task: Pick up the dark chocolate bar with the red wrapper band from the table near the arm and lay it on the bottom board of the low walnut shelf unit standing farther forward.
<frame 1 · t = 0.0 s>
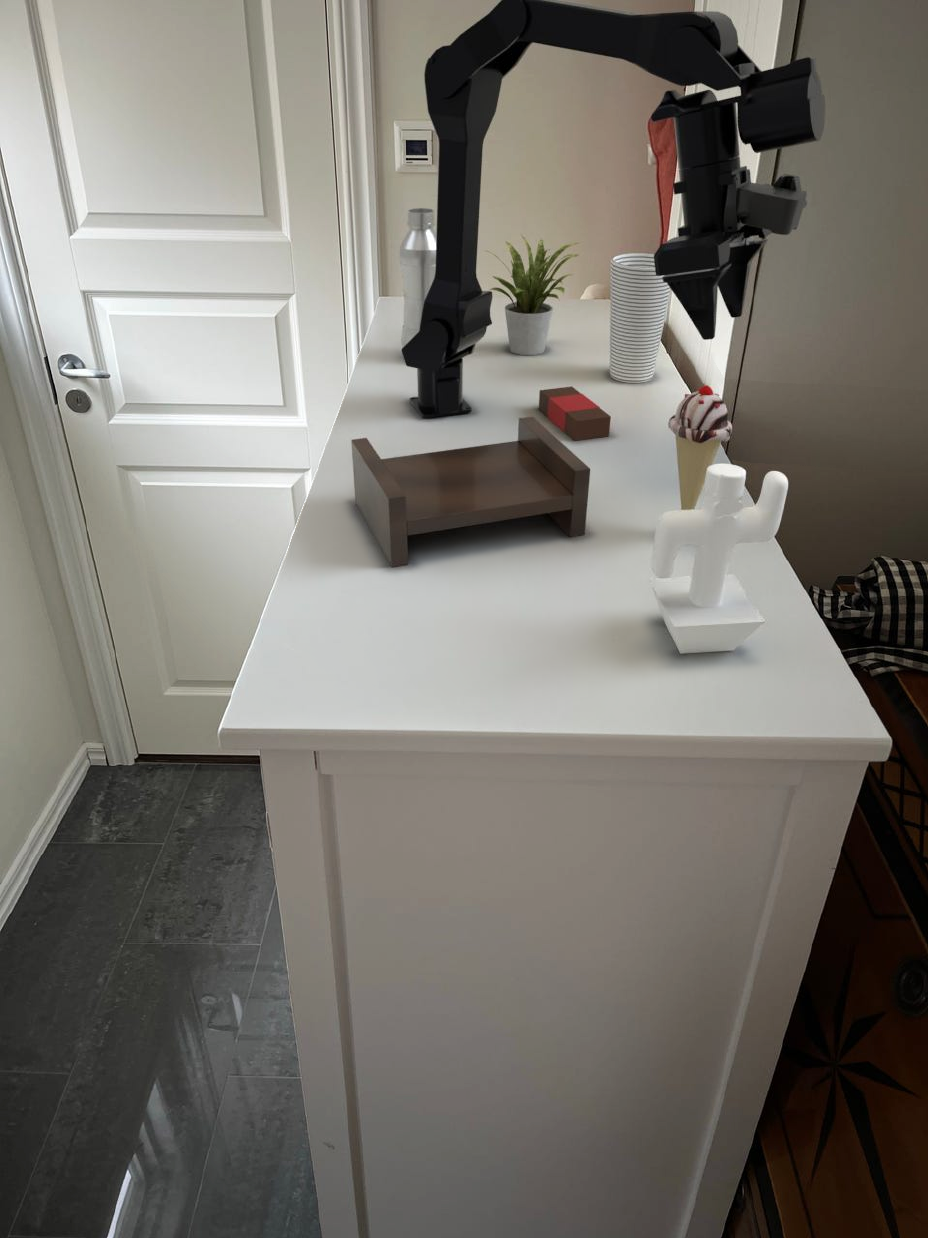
hand: (723, 327, 96), 15 cm above the table, tool pointing down, fingers open, 9 cm apart
shelf: (466, 518, 94), on the table
chocolate bar: (572, 422, 115), on the table
cup: (631, 377, 130), on the table
house plant: (536, 351, 139), on the table
figurine: (697, 638, 76), on the table
plastic bottle: (423, 358, 136), on the table
ice cream cone: (683, 535, 91), on the table
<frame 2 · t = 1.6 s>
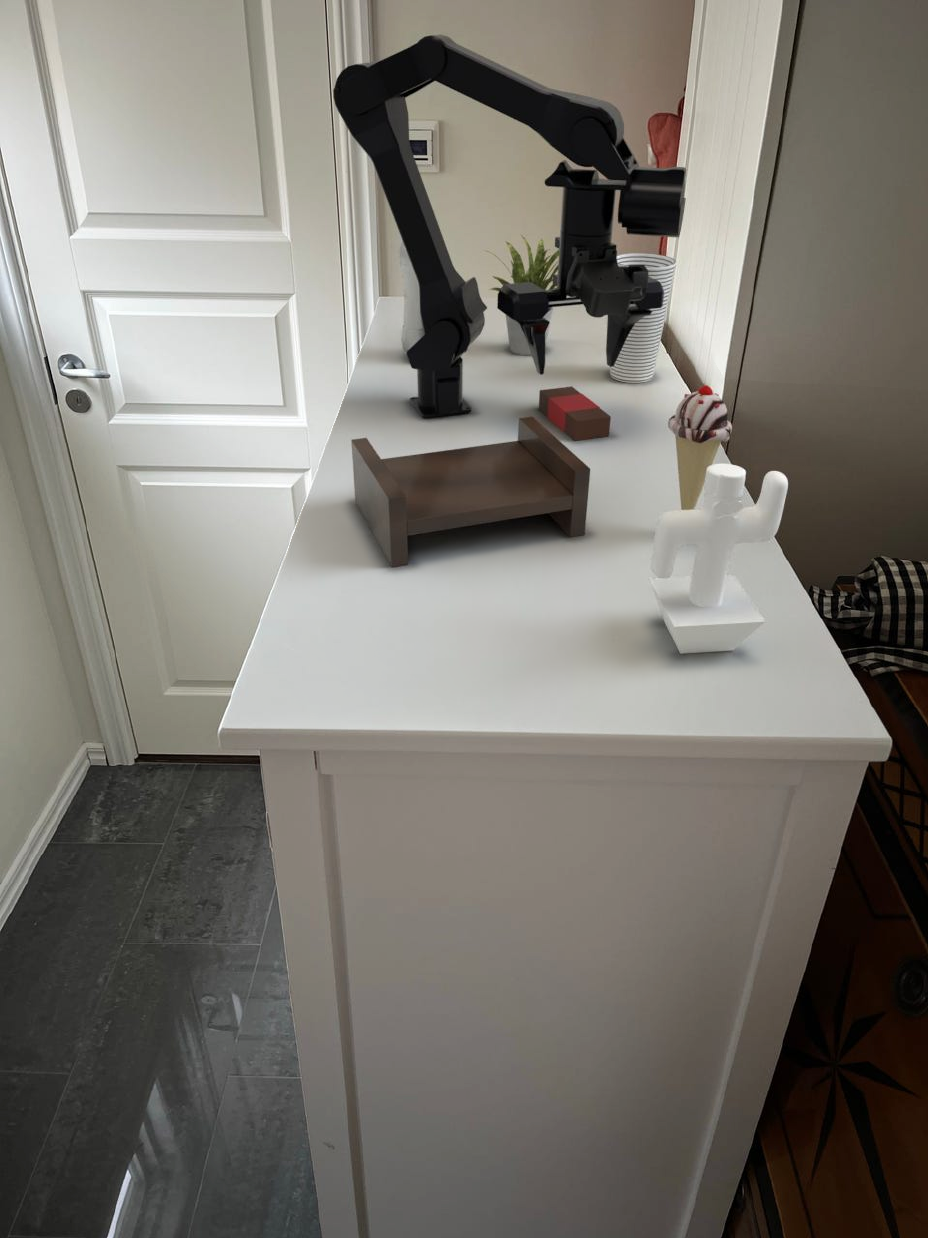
hand: (575, 369, 112), 7 cm above the table, tool pointing down, fingers open, 9 cm apart
nothing on the table moved.
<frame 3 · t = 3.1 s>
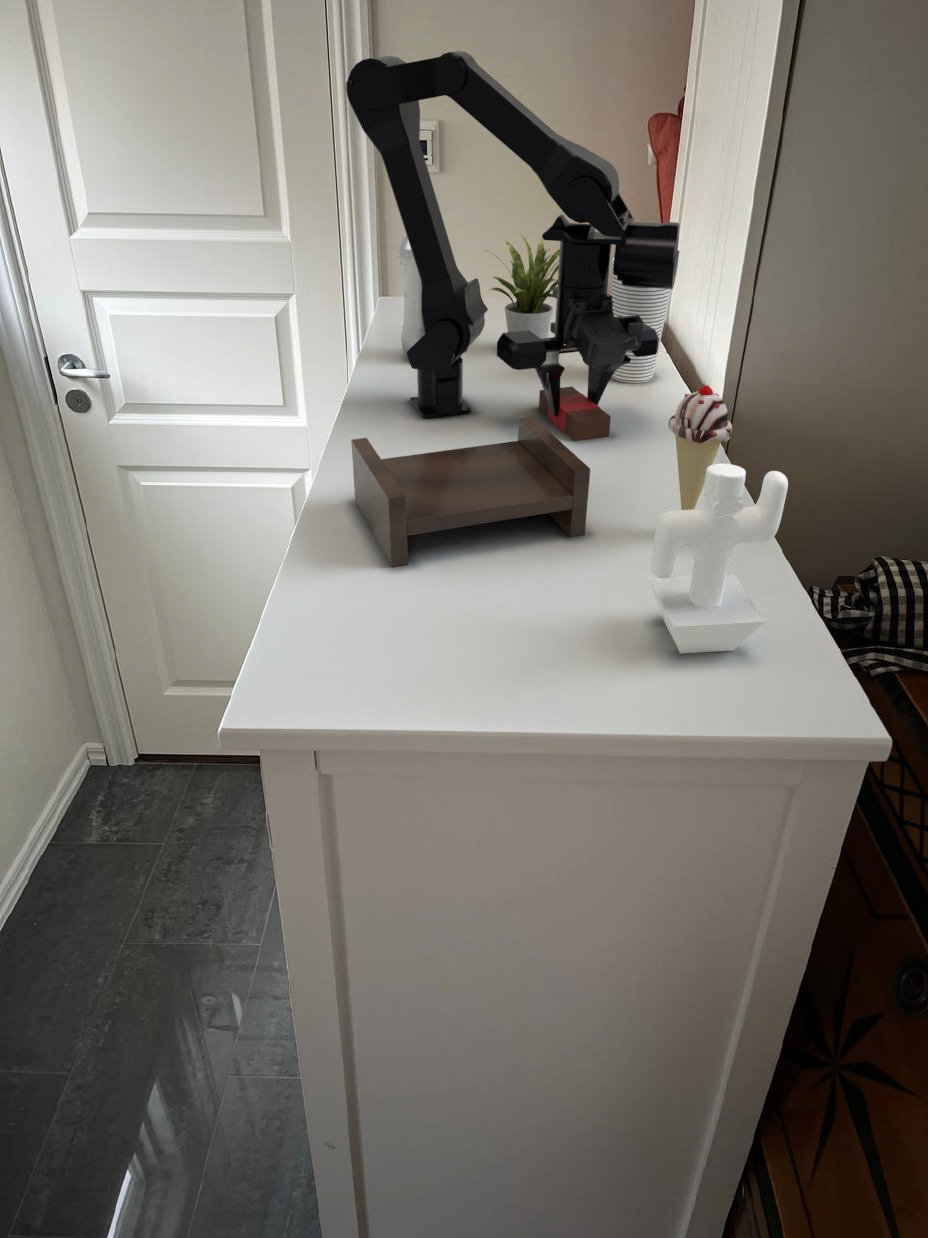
hand: (573, 413, 115), 1 cm above the table, tool pointing down, fingers closed on chocolate bar, 4 cm apart
chocolate bar: (572, 422, 115), on the table, touching gripper
everything else where it was.
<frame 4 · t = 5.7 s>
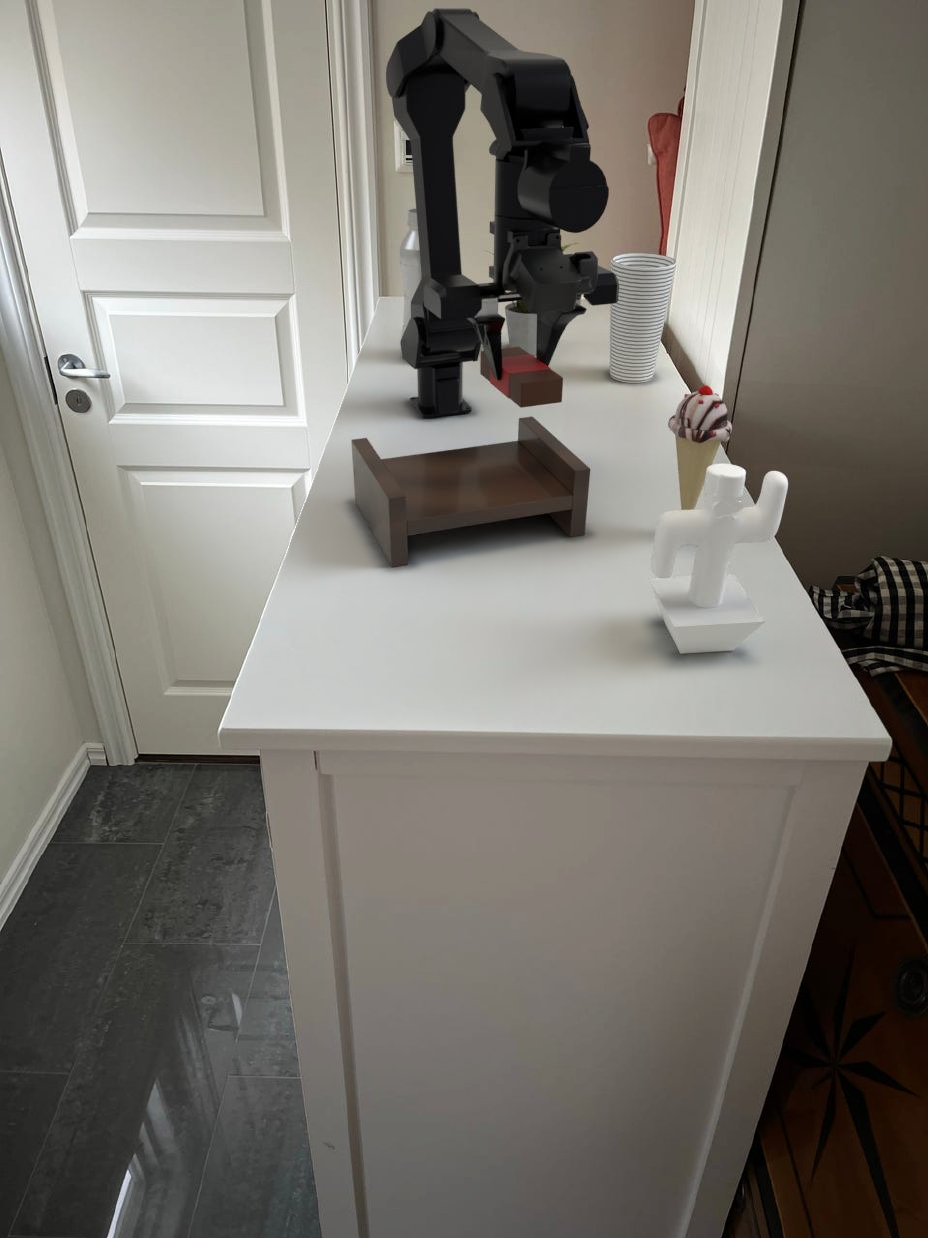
hand: (519, 376, 96), 11 cm above the table, tool pointing down, fingers closed on chocolate bar, 4 cm apart
chocolate bar: (519, 387, 96), point 10 cm above the table, touching gripper
everything else where it was.
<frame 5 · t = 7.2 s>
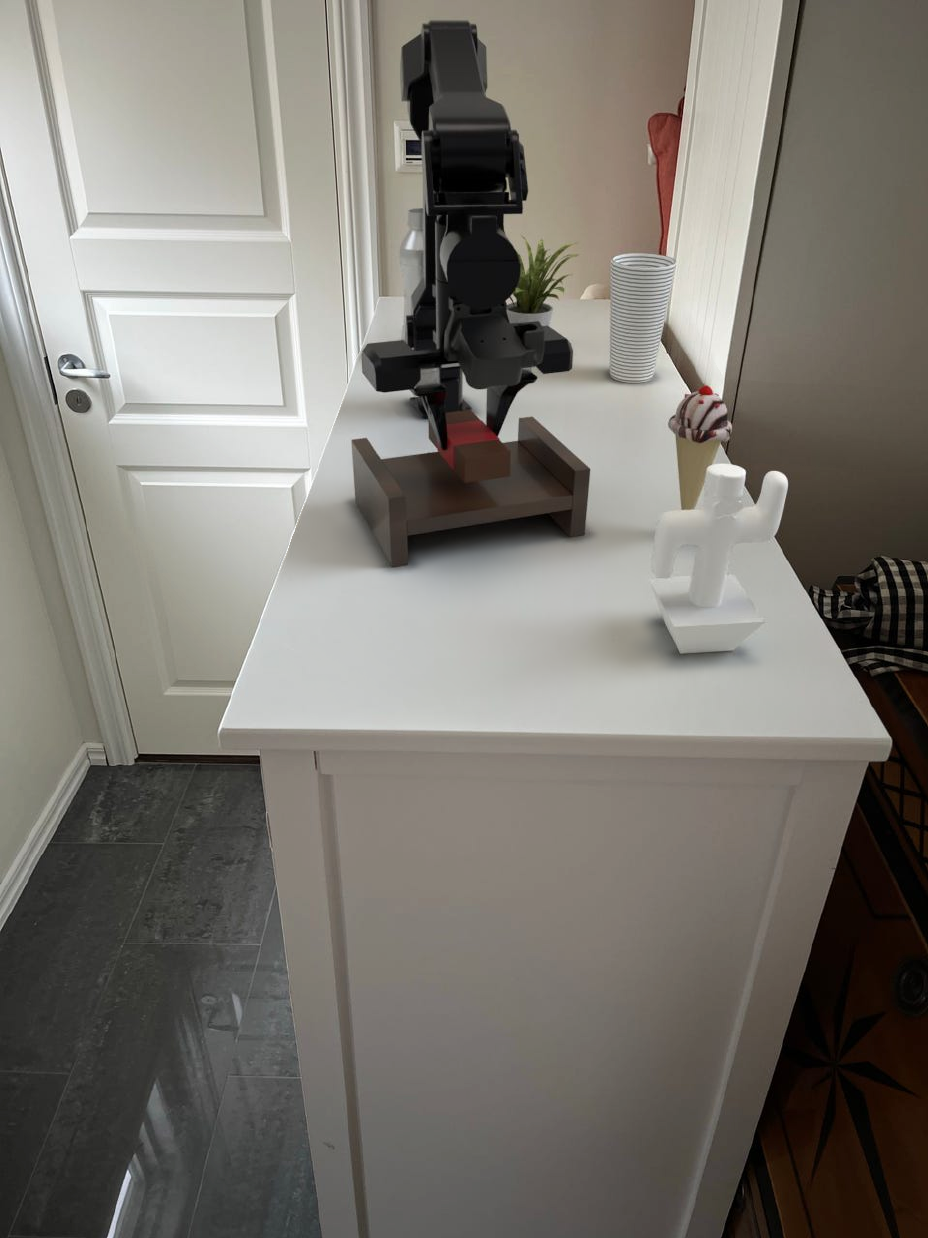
hand: (467, 445, 89), 8 cm above the table, tool pointing down, fingers closed on chocolate bar, 4 cm apart
chocolate bar: (467, 456, 90), point 7 cm above the table, touching gripper
everything else where it was.
when the fingers open (6 cm above the table, at t = 8.3 s): chocolate bar stays where it is, resting on shelf.
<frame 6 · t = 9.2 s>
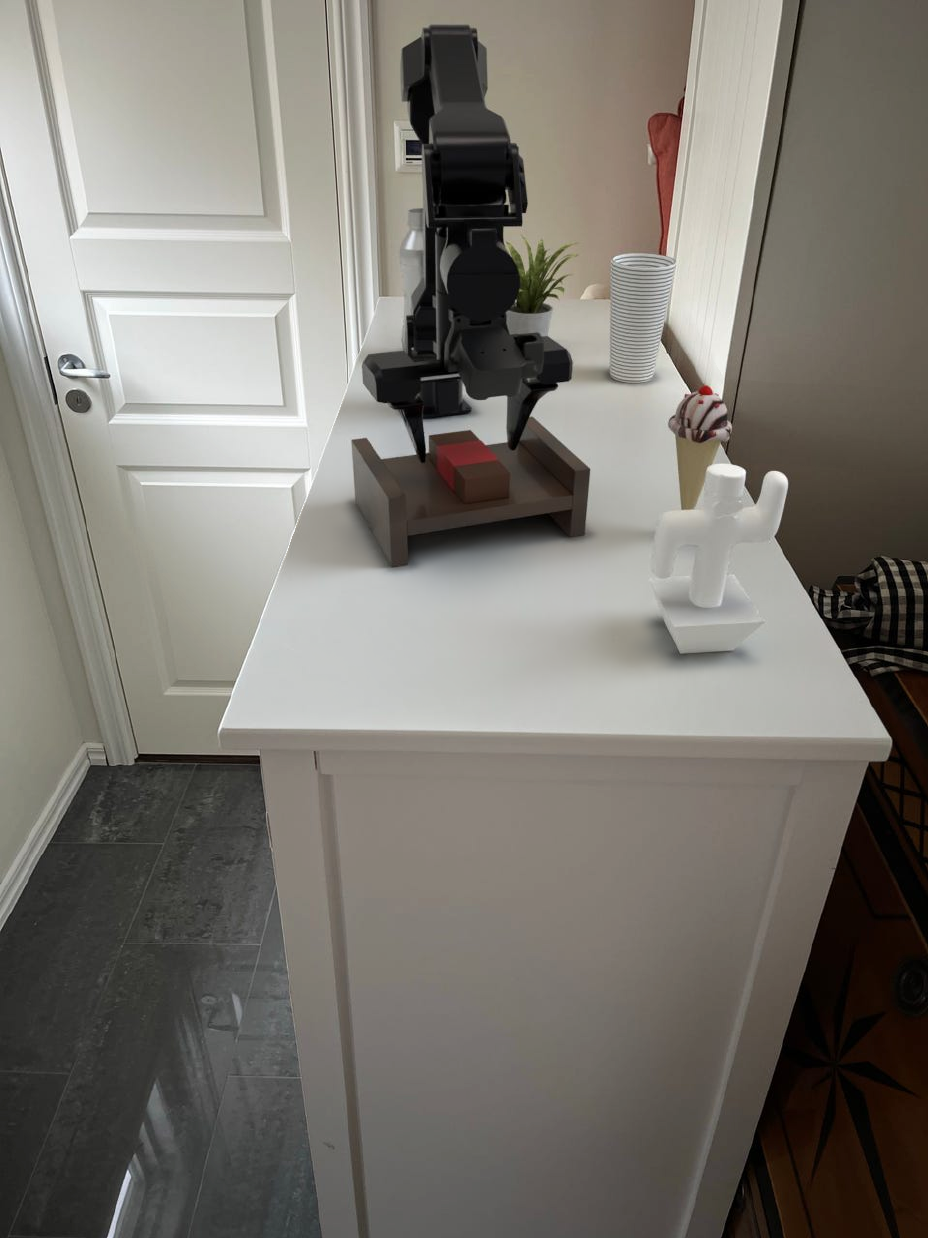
hand: (467, 455, 90), 7 cm above the table, tool pointing down, fingers open, 9 cm apart
chocolate bar: (467, 476, 91), point 5 cm above the table, touching shelf
everything else where it was.
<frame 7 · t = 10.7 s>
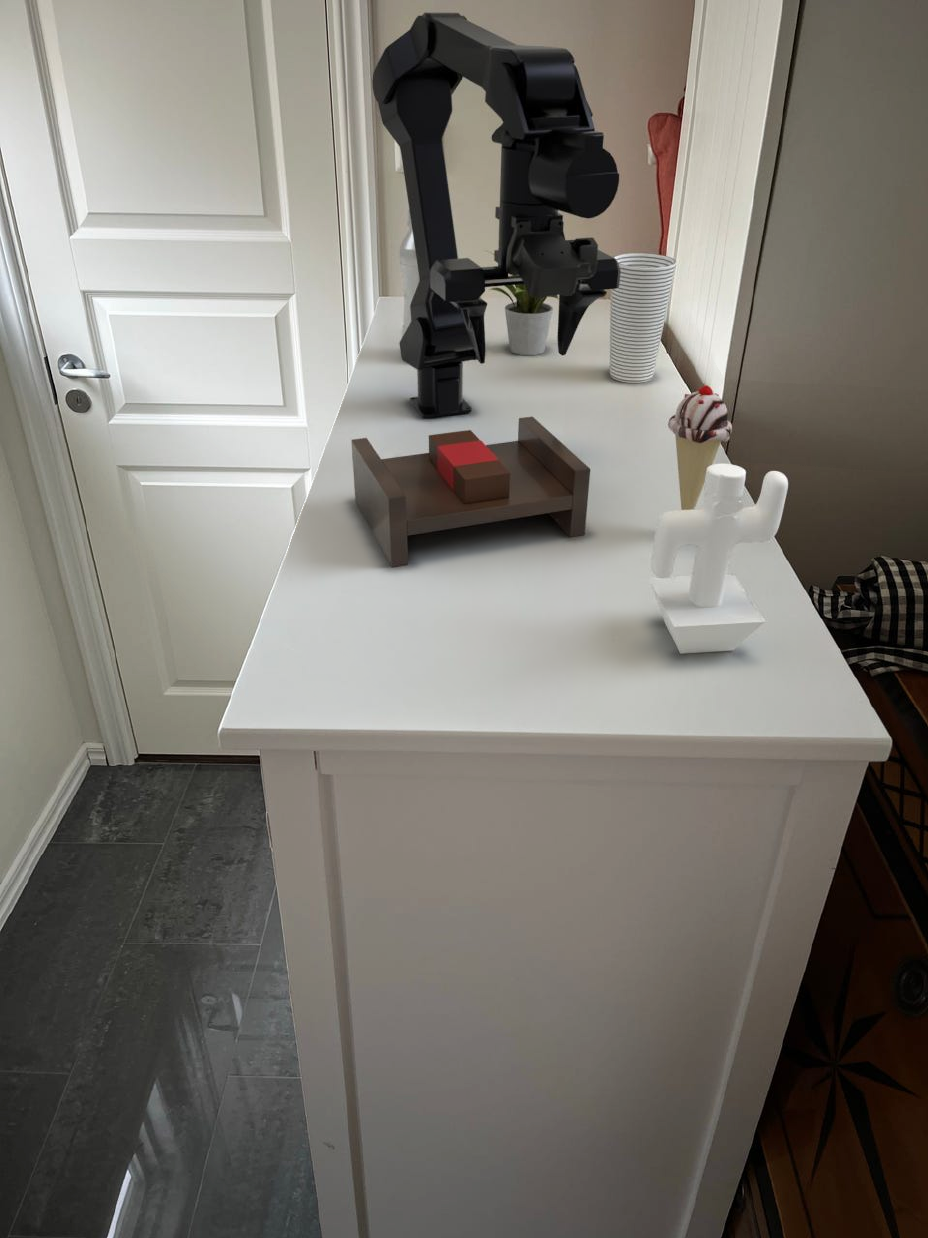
hand: (522, 358, 99), 12 cm above the table, tool pointing down, fingers open, 9 cm apart
nothing on the table moved.
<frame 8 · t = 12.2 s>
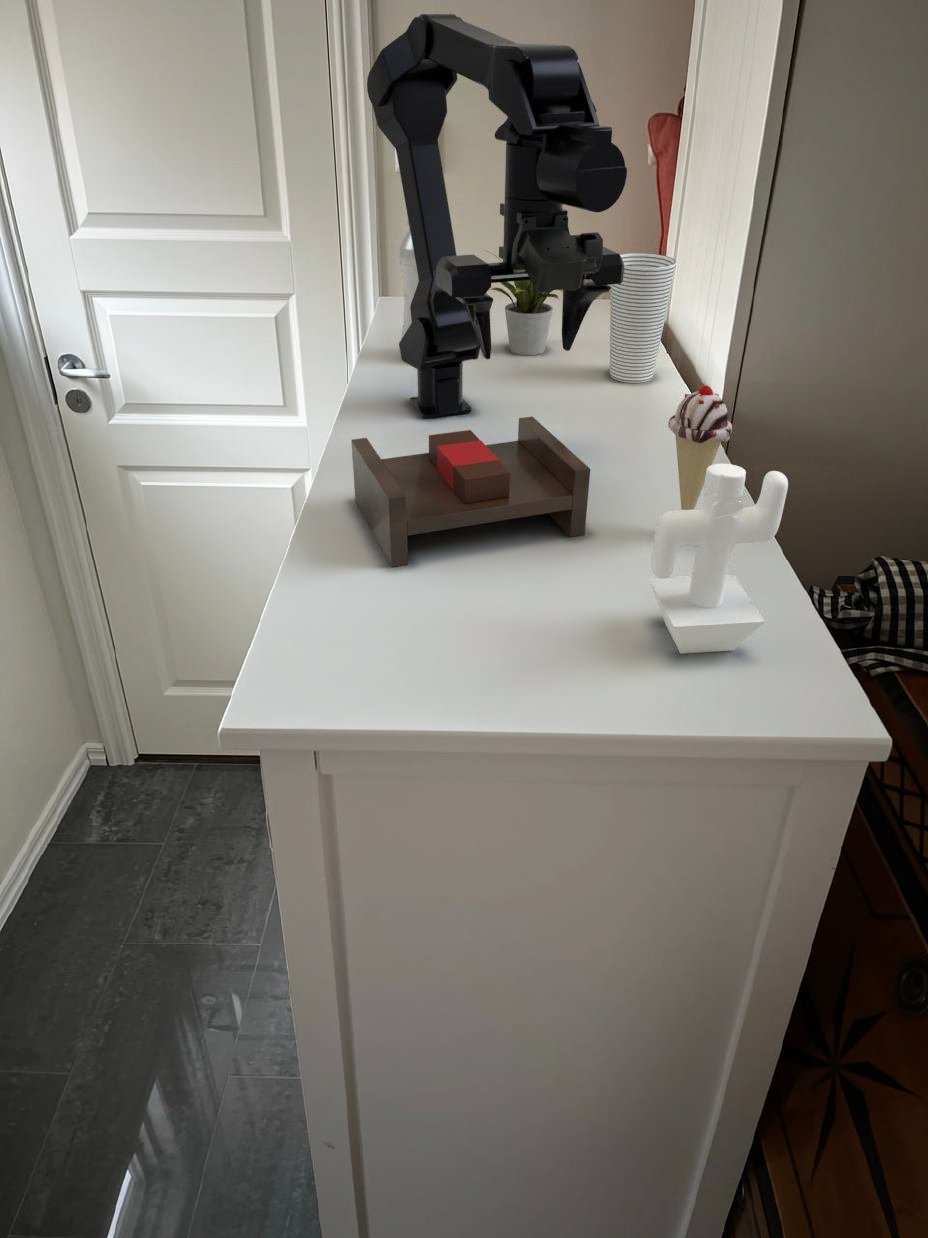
hand: (527, 353, 99), 12 cm above the table, tool pointing down, fingers open, 9 cm apart
nothing on the table moved.
at the end: chocolate bar inside the target area on the shelf (0.1 cm from its centre), point 4.5 cm above the shelf's base; chocolate bar tilted 0°; the gripper is holding nothing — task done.
